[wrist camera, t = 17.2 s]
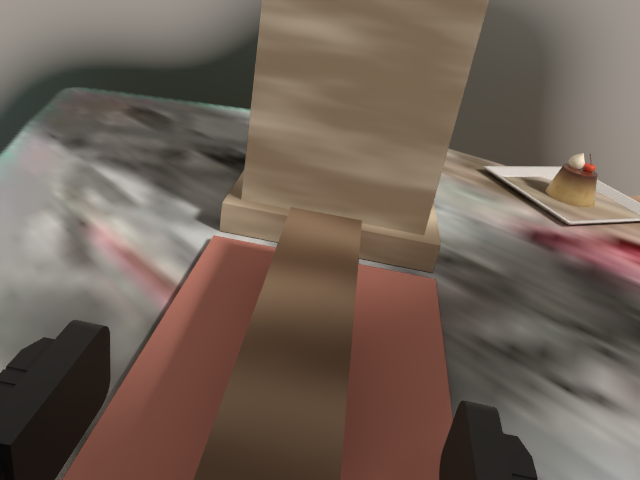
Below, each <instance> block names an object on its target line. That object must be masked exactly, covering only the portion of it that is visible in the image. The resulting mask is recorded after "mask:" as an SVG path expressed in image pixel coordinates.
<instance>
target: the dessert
mask: <svg viewBox="0 0 640 480" xmlns="http://www.w3.org/2000/svg"><path fill="white" fill-rule="evenodd" d="M590 156H591V154H590ZM590 159H591V158H590ZM483 167H484V168H485V169H486V170H487V171H488V172H489V173H490V174H492V175H493V176H494V177H496V178H497V179H499V180H500V181H502V182H503V183H505V184H506V185H508V186H509V187H511V188H512V189H514V190H515V191H517V192H518V193H520V194H521V195H523V196H525V197H526V198H528V199H529V200H531V201H532V202H534V203H535V204H537V205H538V206H540V207H541V208H543V209H544V210H546V211H547V212H549V213H550V214H552V215H553V216H555V217H556V218H558V219H559V220H561V221H562V222H564V223H565V224H567V225H580V224H600V223H621V222H640V218H628V219H606V220H583V221H569V220H567V219H566V218H564V217H563V216H561V215H560V214H558V213H557V212H555V211H554V210H552V209H551V208H549V207H547V206H546V205H544V204H543V203H541V202H540V201H538V200H537V199H535V198H534V197H532V196H531V195H529V194H528V193H526V192H524V191H523V190H521V189H520V188H518V187H517V186H515V185H514V184H512V183H511V182H509V181H508V180H506V179H505V178H503V177H542V178H546V179H549V180H552V181H551V183H550V184H549V185H548V186H547V188H546V189H545V192H546V193H547V194H548V195H549V196H551V197H552V198H554V199H556V200H558V201H560V202H563V203H566V204H569V205H573V206H578V207H592V206H594V205H595V194H596V192H597V193H602V194H604V195H605V196H607V197H609V198H611V199H612V200H614V201H616V202H618V203H620V204H621V205H623V206H625V207H627V208H629V209H630V210H632V211H634V212H636V213H638V214H639V215H640V203H639V202H637V201H635V200H634V199H632V198H630V197H628V196H626V195H624V194H622V193H621V192H619V191H617V190H615V189H613V188H612V187H610V186H608V185H606V184H604V183H602V182H600V181H599V180H597V173H596V172H595V171H594V170H595V166H594V165H593V164H589V163H585V160H584V154H583V153H582V154H578V155H575V156H572V157H571V158H570V159H569V164H564V165H563V166H562V167H551V166H550V167H549V166H547V167H546V166H483Z"/></svg>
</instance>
